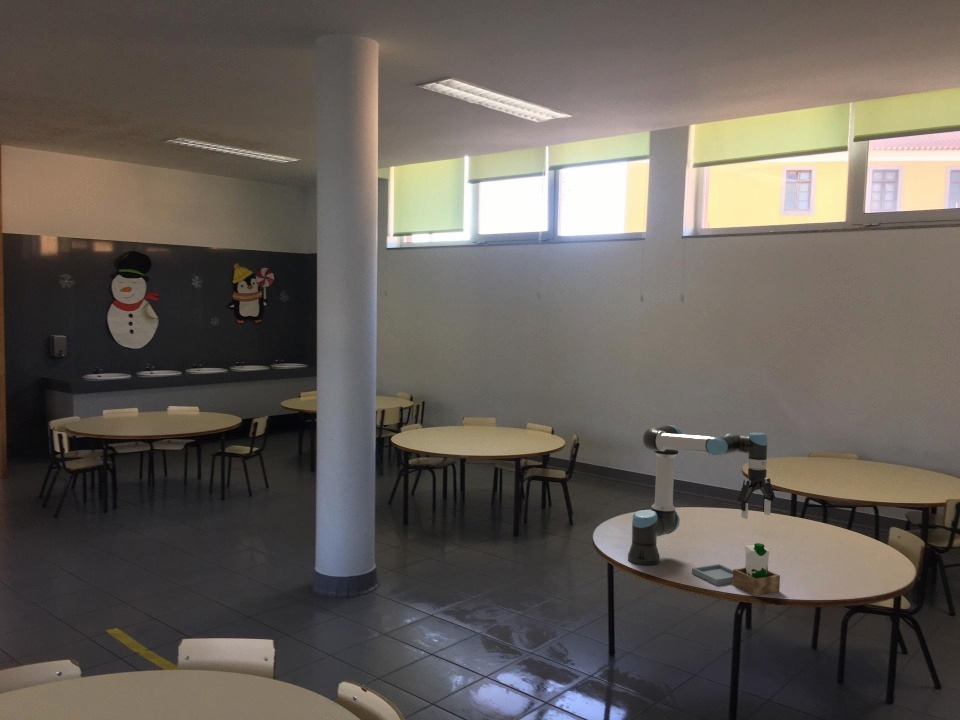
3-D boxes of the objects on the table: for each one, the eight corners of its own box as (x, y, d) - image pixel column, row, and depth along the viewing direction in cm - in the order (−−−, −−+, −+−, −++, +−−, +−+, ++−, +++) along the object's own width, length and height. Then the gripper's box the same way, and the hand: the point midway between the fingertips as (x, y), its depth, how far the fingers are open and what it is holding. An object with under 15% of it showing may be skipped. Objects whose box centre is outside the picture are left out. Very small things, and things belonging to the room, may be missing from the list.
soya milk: (749, 592, 309) (751, 546, 308) (741, 584, 318) (743, 539, 317) (770, 592, 309) (771, 546, 308) (761, 584, 318) (762, 540, 317)
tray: (716, 585, 316) (716, 579, 316) (691, 573, 331) (692, 568, 331) (744, 580, 323) (744, 575, 323) (719, 569, 337) (719, 563, 337)
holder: (755, 595, 305) (756, 579, 304) (732, 584, 317) (733, 569, 317) (779, 591, 310) (779, 575, 310) (755, 580, 323) (756, 565, 322)
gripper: (742, 472, 305) (741, 521, 306) (784, 467, 316) (783, 515, 317) (729, 468, 312) (728, 517, 313) (771, 464, 323) (769, 511, 324)
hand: (755, 516), depth 315 cm, fingers open, 13 cm apart
